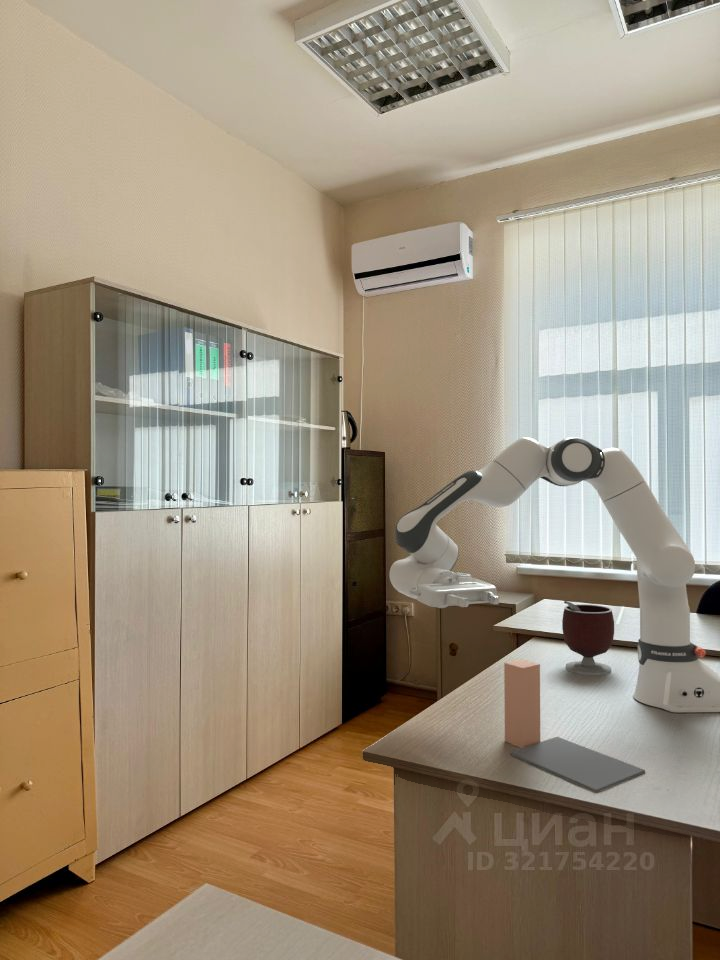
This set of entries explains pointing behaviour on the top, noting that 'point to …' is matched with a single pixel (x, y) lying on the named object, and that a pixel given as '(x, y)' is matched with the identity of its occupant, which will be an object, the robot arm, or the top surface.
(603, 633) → the mate gourd
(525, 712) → the terracotta block
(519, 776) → the top surface
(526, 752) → the charcoal mat
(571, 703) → the top surface
